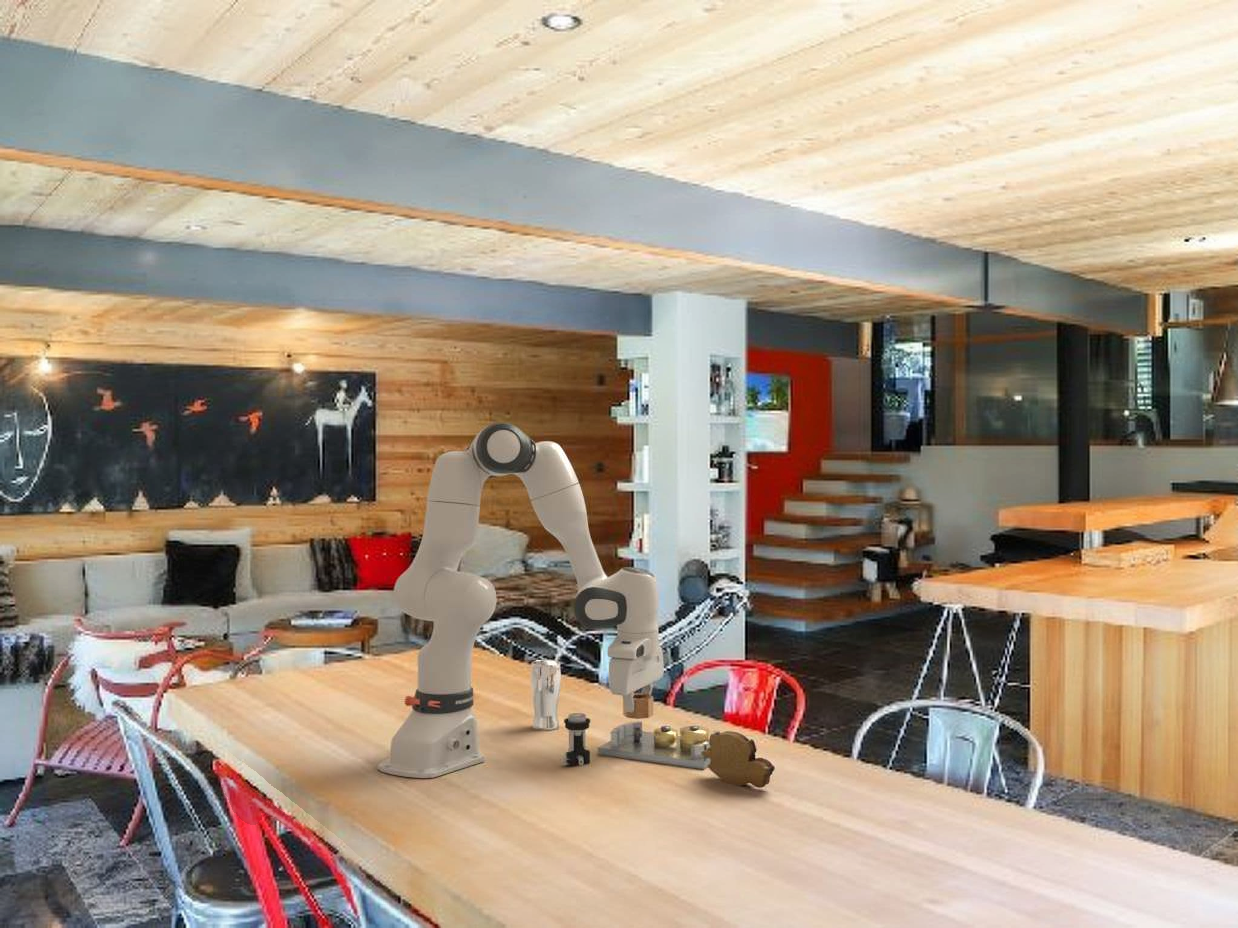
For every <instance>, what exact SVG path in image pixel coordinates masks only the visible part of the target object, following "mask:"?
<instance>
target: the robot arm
mask: <svg viewBox="0 0 1238 928" xmlns="http://www.w3.org/2000/svg"><path fill="white" fill-rule="evenodd" d="M433 466H434V467H433V471H432V473H431V477H430V478H431V479H430V480H429V481H430V482H429V487H428V491H427V500H426V501H427V502H426V509H425V510H426V511H425V517H424V526H423V531H422V532H423V533H422V538H421V542H420V544H419V547H418V550H417V552H416V555H415V557H414V558H413V560H412V562H411V564H410V565H409V567H408V568H407V569H406V570H405V571H404V572H403V573H402V574H401V575H400V576H398V578H397V580H396V582H395V584H394V587H393V600H394V603H395V605H396V607H397V608H398V610H399V611H400V612H403V613H404V614H406V615H408V616H410V617H412V618H413V619H416V620H422V621H429V622H433V630H432V633H431V637H430V639H429V640H428V643H426V644H424V645H423V646H422V647H421V648H420V649H419V651H418V654H417V688H416V690H415V694H414V696H411V695H406V696H405V697H404V702H403V703H404V705H405V706H406V707H411V708H412V710H411V712H410V714H409V715H408V716H407V718H406V719H405V721H404V722H403V723H402V724H401V726H400V727H399V729H398V730H397V731H396V733H395V734H394V735H393V737H392V738H391V742H390V751H389V752H390V753H389V754H390V755H389V757H388V758H386V759H384V760H383V761H381V762H380V763H378V764H377V765H378V766H377V769H378V771H380V772H381V773H382V772H383V773H386V774H390V775H393V776H399V777H407V778H417V779H418V778H419V779H429V778H430V779H432V778H437V777H439V776H442V775H446V774H449V773H452V772H455V771H458V770H461V769H465V768H467V767H470V766H473V765H477V764H480V763H482V762H484V761H485V758H484V754H482V753H481V751H480V749H481V748H480V738H479V728H478V721H477V718H476V717H475V714H474V712H473V706H474V699H475V694H474V687H472V659H473V650H474V645H475V641H476V638H477V636H478V634H479V631H480V630H481V628H482V626H483V625H484V624H485V623H486V622H488V621H489V620H490V619H491V617H492V616H493V615H494V612H495V610H496V606H497V593H496V589H495V586H494V585H493V583H492V582H491V581H490V580H488V579H487V578H485V577H482V576H480V575H477V574H475V573H473V572H467V571H458V567H459V565H460V562H461V560H462V559H463V556H464V555H465V554H466V553H467V551H469V550H471V549H472V548H473V547H474V546H475V544H476V543H477V539H478V531H479V521H480V520H479V519H480V509H481V498H482V497H481V495H482V490H483V486H484V484H485V481H487V479H490V478H496V477H504V476H509V475H515V476H517V477H518V478H519V479H520V480H521V481H522V483H523V484H524V487H525V488H526V492H527V494H528V498H529V500H530V502H531V505H532V508H533V510H534V512H535V514H536V516H537V518H538V520H539V521H540V523H541V525H542V526H543V528H544V529H545V530H546V531H547V532H548V533H550V535H552V536H554V537H555V538H556V539H557V540H558V542H559V543H560V544H561V546H562V548H563V549H564V552H565V553H566V555H567V558H568V561H569V563H570V566H571V568H572V571H573V574H574V576H575V580H576V584H577V593H576V596H575V599H574V602H573V613H574V616H575V618H576V620H577V621H578V623H580V624H581V625H582V626H583V627H585V628H587V629H589V630H602V629H606V628H611V627H617V629H616V631H617V632H616V633H617V635H616V636H615V638H614V639H613V641H612V642H611V643H610V645H609V646H608V647H607V657H608V658H610V660H609V662H608V663H609V664H608V682H609V683H608V685H609V690H610V692H611V694H612V695H615V696H622V700H623V699H624V702H625V710H626V712H633V711H635V710H636V703H634V700H633V696H634V693H635V692H636V691H638V690H640V689H641V693H645V694H650V695H652V692H653V688H654V683H655V682H658V680H661V679H662V678H663V676H664V673H665V669H664V667H665V666H664V653H663V649H662V647H661V645H660V643H659V625H658V621H657V618H658V613H659V589H658V583H657V578H656V576H654V574H653V573H652V572H650V571H649V570H647V569H643V568H640V567H633V566H631V567H630V566H625V567H622V568H621V569H620V570H619V571H617V572H615V573H614V574H611V575H610V576H609V575H608V574H607V573H606V572H605V570H604V568H603V565H602V563H601V560H600V558H599V555H598V553H597V550H596V548H595V546H594V545H595V544H594V543H593V540H592V538H591V533H590V529H589V524H588V522H589V521H588V514H587V508H586V502H585V497H584V494H583V491H582V488H581V484H580V483H579V482H580V481H579V479H578V477H577V475H576V472H575V469H574V468H573V466H572V463H571V462H570V460H569V459H568V456H567V454H566V453H565V451H564V449H563V448H562V447H561V446H560V444H559V443H557V442H555V441H550V440H548V441H547V440H545V441H544V440H543V441H539V442H535V441H534V440H533V439H532V438H530V436H529V435H527V434H525V432H524V431H523V430H521V429H520V428H519V427H517V426H516V425H514V424H512V423H508V422H503V421H501V422H494V423H491V424H489V425H486V426H485V427H484V428H482V429H481V430H480V431H479V432H478V433H477V434H476V436H475V437H474V438H473V440H472V441H471V443H470V444H469V446H468V447H467V448H466V450H463V451H462V450H453V451H452V450H451V451H448V452H445V453H443V454H440V456H438V457H437V459H436V461H435V463H434V465H433Z"/></svg>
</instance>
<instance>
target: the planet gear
mask: <svg viewBox="0 0 1238 928" xmlns="http://www.w3.org/2000/svg"><path fill="white" fill-rule="evenodd" d="M633 700H634V703H636V710H635V711H633V712H626V710H625V702H624V699H623V698H622V715H623V716H624V717H625V718H627V719H634V720H642V719H650V718H651V717H652V716H654V696H653V695H652V694H651V695H650V694H645V693H642V692H634V696H633Z"/></svg>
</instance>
